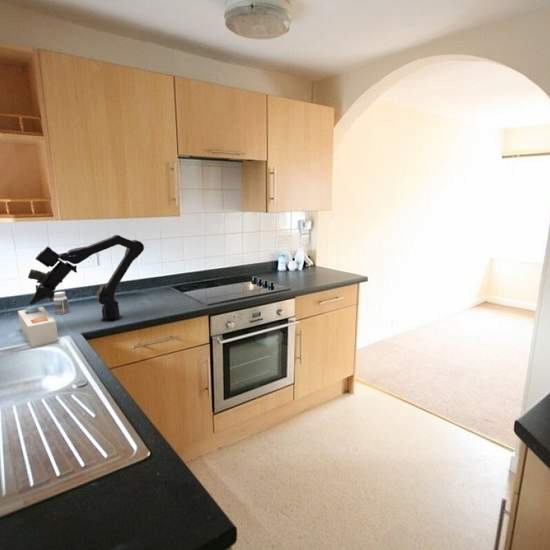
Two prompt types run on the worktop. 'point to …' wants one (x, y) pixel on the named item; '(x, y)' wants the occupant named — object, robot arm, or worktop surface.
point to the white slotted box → (38, 327)
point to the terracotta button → (39, 319)
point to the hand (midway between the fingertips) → (30, 303)
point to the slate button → (32, 309)
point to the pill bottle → (60, 303)
